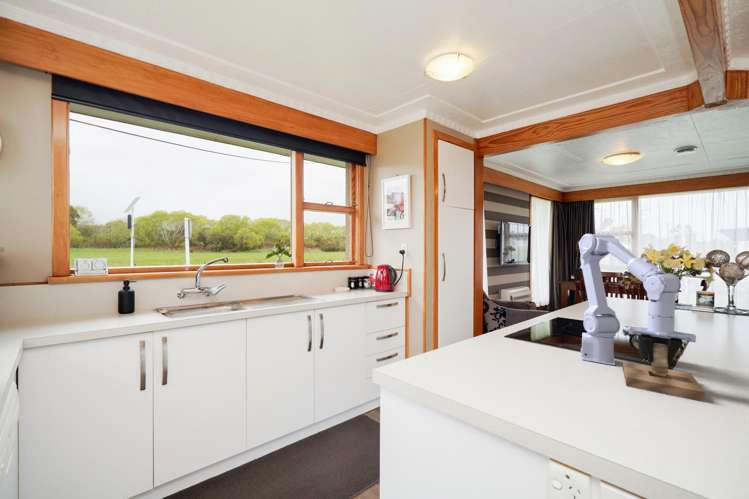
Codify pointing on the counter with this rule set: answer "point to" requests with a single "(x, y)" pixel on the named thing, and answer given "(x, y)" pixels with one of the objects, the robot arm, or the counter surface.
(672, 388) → the board
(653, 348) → the peg
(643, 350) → the mug
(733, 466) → the counter surface
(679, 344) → the robot arm
